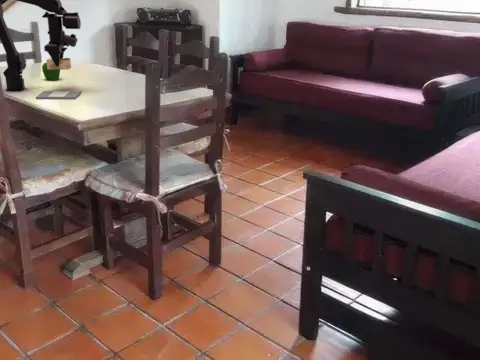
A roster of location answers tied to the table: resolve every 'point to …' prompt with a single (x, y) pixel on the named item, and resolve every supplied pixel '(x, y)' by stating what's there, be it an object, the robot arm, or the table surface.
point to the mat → (58, 95)
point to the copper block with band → (63, 64)
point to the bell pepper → (50, 73)
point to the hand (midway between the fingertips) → (59, 65)
